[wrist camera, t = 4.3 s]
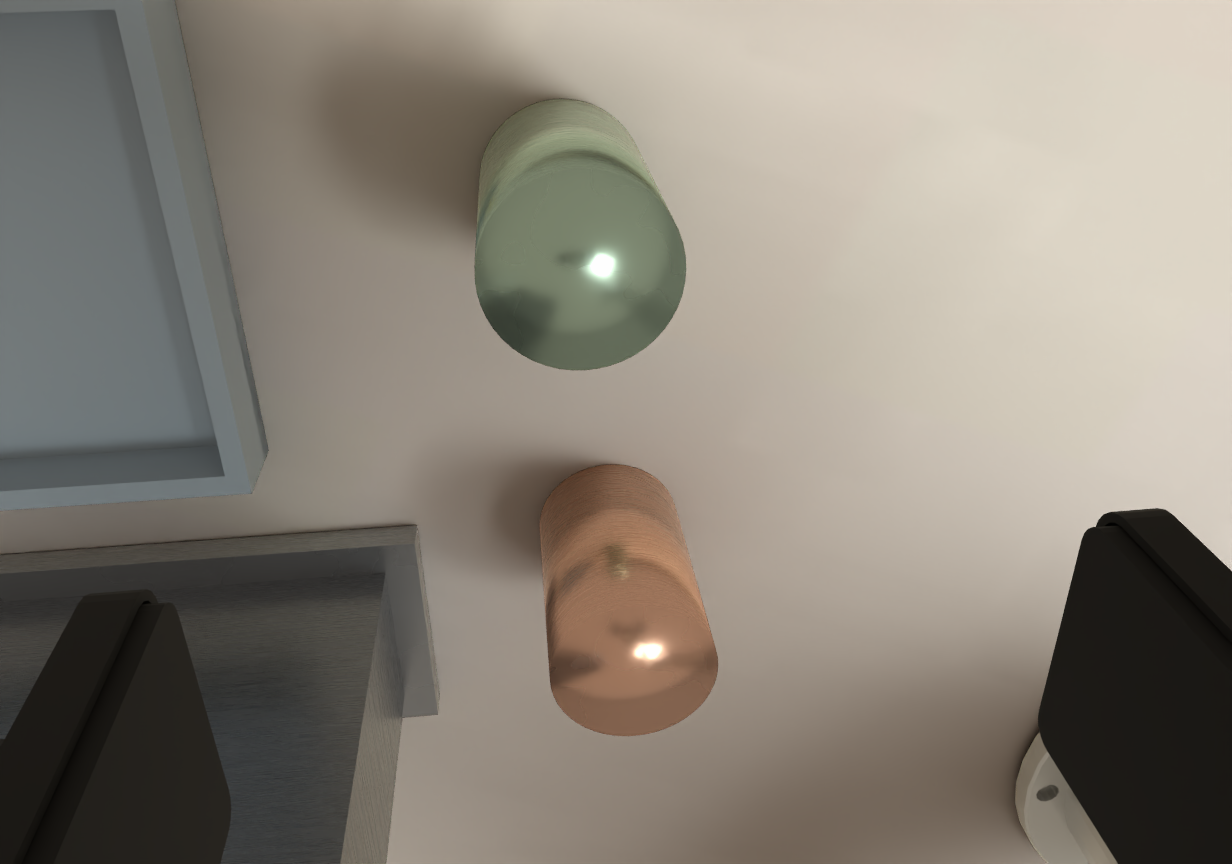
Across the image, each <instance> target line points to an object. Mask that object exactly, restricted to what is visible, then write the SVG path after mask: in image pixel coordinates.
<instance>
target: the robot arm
mask: <svg viewBox="0 0 1232 864" xmlns="http://www.w3.org/2000/svg"><path fill="white" fill-rule="evenodd" d="M1038 726H1039V731H1040V732H1039V733H1038V734H1037V736H1036V737H1035V739H1034V741H1033V742H1032V744H1031V746H1030V748H1029V750H1028V751H1027V753H1026V755H1025V757H1024V759H1023V761H1022V764H1021V768H1020V771H1019V774H1018V777H1017V781H1016V794H1015V805H1016V809H1017V813H1018V817H1019V821H1020V824H1021V825H1022V827H1023V829H1024V831H1025V833H1026V835H1027V836H1028V838H1029V840H1030V842H1031V844H1032V846H1033V848H1034V849H1035V850H1036V851H1037V852H1038V854H1039V855H1040V856H1041V857H1042V858H1043V860H1044V861H1045V862H1046V863H1048V864H1232V571H1231V570H1230V569H1229V568H1228V567H1227V566H1226V565H1225V564H1224V563H1223V562H1221V561H1220V560H1219V559H1218V558H1217V557H1216V556H1215V555H1214V554H1213V553H1212V552H1211V551H1210V550H1209V549H1208V548H1207V547H1206V546H1205V545H1204V544H1203V543H1202V542H1201V541H1200V540H1199V539H1198V538H1196V537H1195V536H1194V535H1193V534H1192V533H1191V532H1190V531H1189V530H1188V529H1187V528H1186V527H1185V526H1184V525H1183V524H1182V523H1181V522H1180V521H1179V520H1178V519H1177V518H1176V517H1175V516H1174V515H1172V514H1171V513H1169V512H1168V511H1166V510H1164V509H1158V508H1156V509H1143V510H1131V511H1118V512H1109V513H1107V514H1104V515H1103V516H1102V517H1101V518H1100V519H1099V520H1098V523H1097V525H1096V527H1092V528H1090V529H1088V530H1087V531H1086V532H1085V533H1084V536H1083V538H1082V541H1081V545H1080V549H1079V553H1078V557H1077V561H1076V565H1075V569H1074V573H1073V577H1072V581H1071V585H1070V589H1069V593H1068V597H1067V601H1066V605H1065V609H1064V613H1063V617H1062V621H1061V625H1060V629H1059V633H1058V637H1057V641H1056V645H1055V649H1054V653H1053V657H1052V661H1051V665H1050V669H1049V673H1048V677H1047V681H1046V685H1045V689H1044V693H1043V697H1042V701H1041V705H1040V709H1039V715H1038ZM230 820H231V799H230V793H229V788H228V785H227V781H226V778H225V774H224V771H223V768H222V764H221V761H220V757H219V754H218V750H217V747H216V743H215V740H214V736H213V733H212V729H211V726H210V722H209V719H208V716H207V712H206V709H205V705H204V702H203V698H202V695H201V691H200V688H199V684H198V681H197V677H196V674H195V670H194V667H193V663H192V660H191V657H190V653H189V650H188V646H187V643H186V639H185V636H184V632H183V629H182V625H181V622H180V618H179V615H178V612H177V610H176V607H175V606H174V605H173V603H170V602H165V603H158V601H157V599H156V596H155V595H154V594H153V593H152V591H150V590H147V589H141V590H129V591H116V592H104V593H91V594H88V595H86V596H84V597H83V598H82V599H81V601H80V602H79V603H78V605H77V607H76V609H75V610H74V612H73V614H72V616H71V618H70V620H69V622H68V623H67V625H66V627H65V629H64V631H63V633H62V634H61V636H60V638H59V640H58V642H57V644H56V645H55V647H54V649H53V651H52V653H51V655H50V657H49V658H48V660H47V662H46V664H45V666H44V668H43V669H42V671H41V673H40V675H39V677H38V679H37V680H36V682H35V684H34V686H33V688H32V690H31V691H30V693H29V695H28V697H27V699H26V701H25V703H24V704H23V706H22V708H21V710H20V712H19V714H18V715H17V717H16V719H15V721H14V723H13V725H12V726H11V728H10V730H9V732H8V734H7V736H6V738H5V739H0V864H220V863H221V859H222V855H223V851H224V848H225V844H226V840H227V836H228V832H229V827H230Z"/></svg>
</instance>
